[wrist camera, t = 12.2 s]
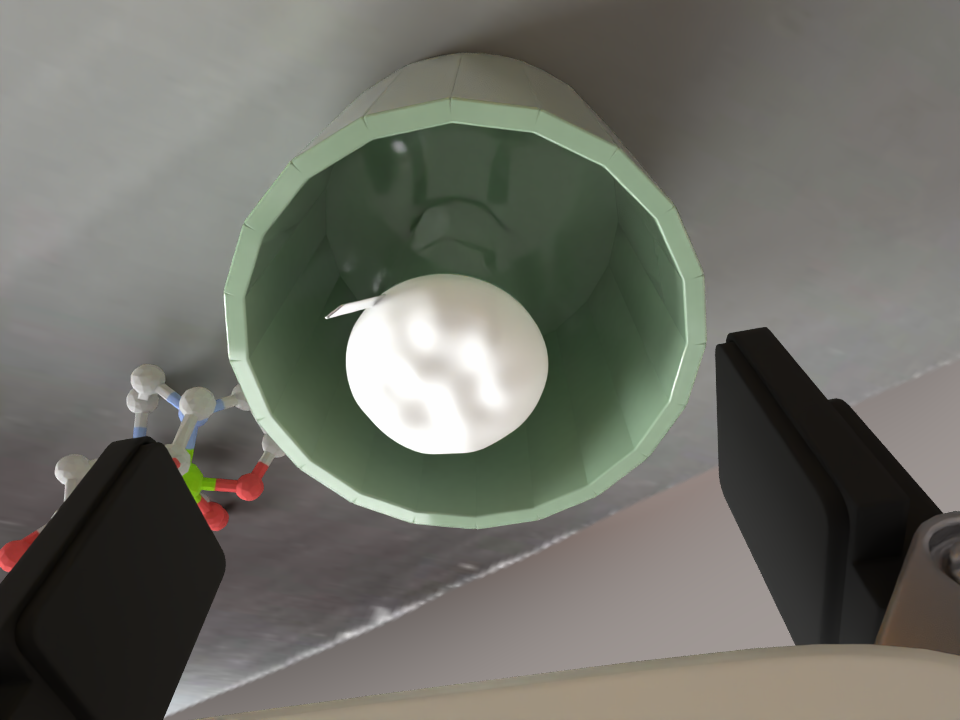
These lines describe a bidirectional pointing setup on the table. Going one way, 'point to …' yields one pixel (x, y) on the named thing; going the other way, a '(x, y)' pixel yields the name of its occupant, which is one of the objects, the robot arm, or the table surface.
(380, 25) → the table surface
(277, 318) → the pen holder
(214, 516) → the molecular model
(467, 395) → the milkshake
